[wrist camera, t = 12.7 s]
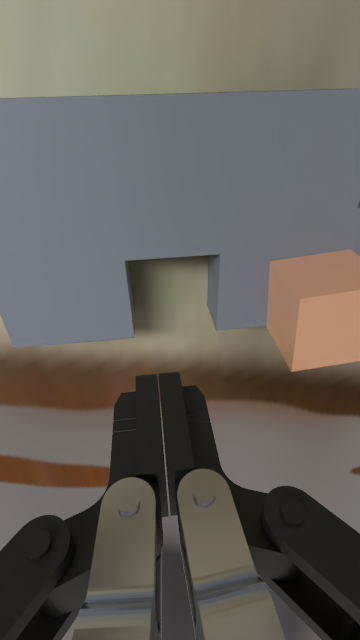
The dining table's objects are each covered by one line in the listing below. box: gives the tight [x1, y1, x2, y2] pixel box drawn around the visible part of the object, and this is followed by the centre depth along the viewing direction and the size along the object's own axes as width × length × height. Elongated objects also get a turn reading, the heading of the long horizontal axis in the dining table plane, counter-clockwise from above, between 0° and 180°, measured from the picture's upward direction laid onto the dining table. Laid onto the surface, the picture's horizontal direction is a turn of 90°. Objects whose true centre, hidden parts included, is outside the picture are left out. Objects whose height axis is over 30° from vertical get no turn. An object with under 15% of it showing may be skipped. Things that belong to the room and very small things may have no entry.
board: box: [0, 89, 360, 348], centre depth 18 cm, size 12×32×5 cm, turn 91°
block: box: [266, 249, 360, 372], centre depth 18 cm, size 4×4×4 cm
